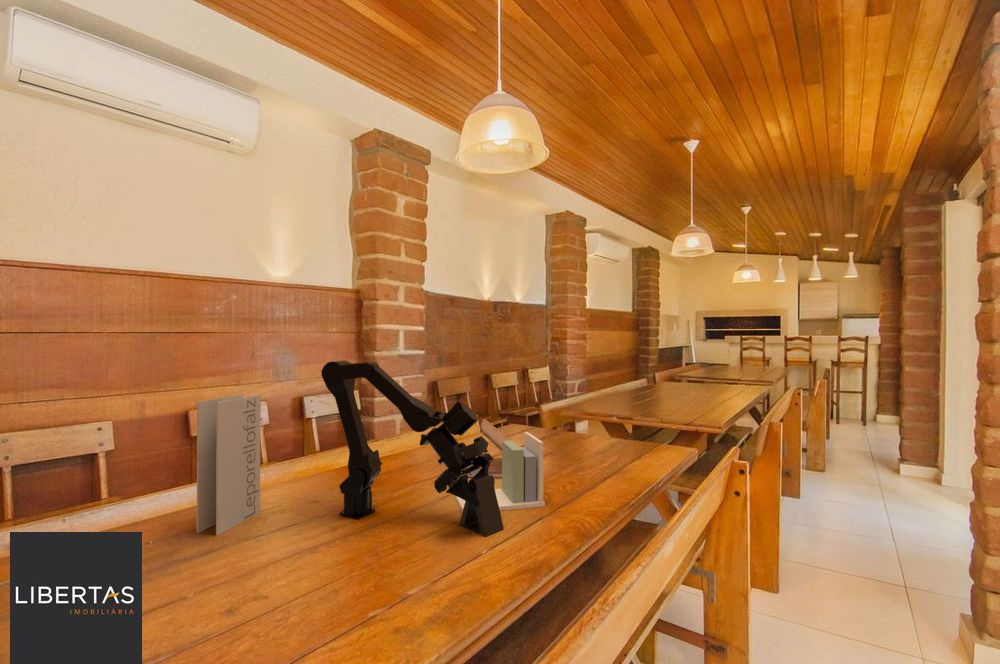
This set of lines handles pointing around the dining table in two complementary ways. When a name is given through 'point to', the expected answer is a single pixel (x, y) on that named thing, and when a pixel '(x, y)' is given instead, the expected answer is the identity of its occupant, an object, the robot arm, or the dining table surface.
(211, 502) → the brochure
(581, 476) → the dining table surface
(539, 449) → the bookshelf
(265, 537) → the dining table surface
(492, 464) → the case
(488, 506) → the phone stand
